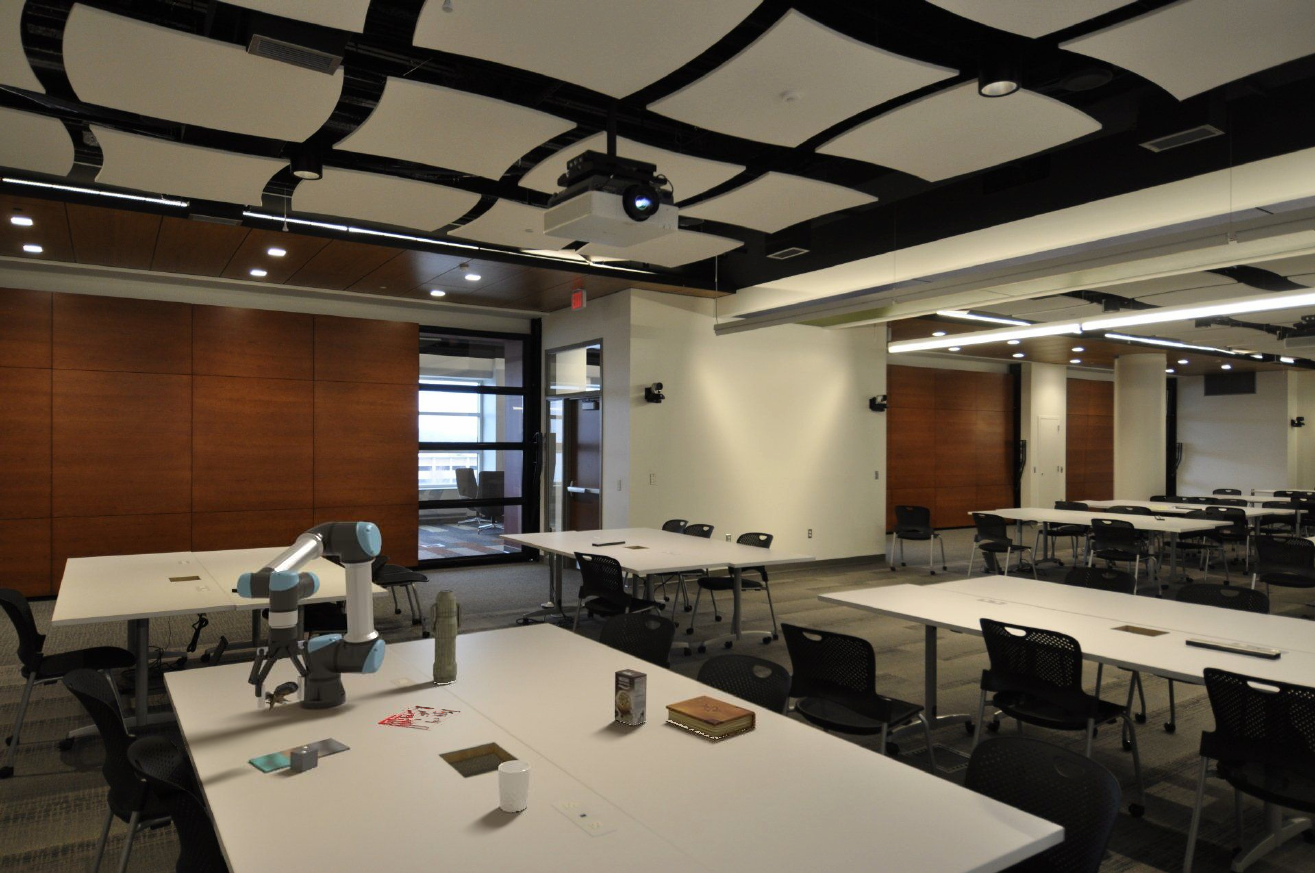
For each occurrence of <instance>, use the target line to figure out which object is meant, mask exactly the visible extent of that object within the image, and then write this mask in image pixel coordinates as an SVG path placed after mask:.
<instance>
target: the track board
mask: <svg viewBox="0 0 1315 873" xmlns="http://www.w3.org/2000/svg"><path fill="white" fill-rule="evenodd" d="M304 746H309V747H313V748H317V749H318V759H320V757H321V758H324V757H327V756H331V755H335V754H338V753H341V752H345V750H346V751H349V750H351V747H349V746H348V745H346V744H344V743H341V742H340V741H337V740H336V739H334V738H332V737H330V738H326V739H322V740H319V741H314V742H311V743H308V744H304V745H300V746H296V747H292V748H288V749H285V750H281V751H277V752H273V753H269V754H266V755H261V756H258V757H255V758H250V759H248V763H250V762H251V764H252V763H253V764H254V766H255V767H257V768H258V769H260V770H261V769H262V770H261V771H263V770H264V771H265V772H264V771H263V772H264V773H266V772H268V773H271V772H274V771H273V770H275V771H278V770H281V769H280V768H282V769H285V768H288V767H287V766H289V767H290V752H291V751H293V750H296V749H298V748H301V747H304ZM253 764H252V765H253ZM284 767H285V768H284ZM277 769H278V770H277ZM270 771H271V772H270Z"/></svg>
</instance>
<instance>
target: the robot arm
mask: <svg viewBox="0 0 1315 873" xmlns="http://www.w3.org/2000/svg"><path fill="white" fill-rule="evenodd" d="M381 546H382V536H381V533H380V530H379V528H378V526H377V525H376V524H375V523H373V522H367V521H365V522H364V521H327V522H324V523H321V524H318V525H316V526H314V527H312V528H309V529H308V530H306V531H304V532H303V533H302V534H300V535H299V536H298V537H297V539H296V540H295V542H294V544H292V545H291V546H290V547H288V548H287V549H285V551H283V552H282V553H280V554H279V555H277V556H276V557H275V558H274V559H272V560H271V561H270V562H268V563H267V564H266V565H265V566H263V567H261V569H260V568H259V570H257V571H256V572H244V573H242V574H241V575H240V576H239V578H238V579H237V582H236V589H237V590H236V591H237V594H238V595H239V597H241V598H244V599H251V600H254V599H262V600H263V599H264V600H265V599H269V600H268V606H269V607H268V626H269V628H268V632H267V637H268V638H267V639H268V644H267V645H266V646H264V647H259V646H258V647H256V649H255V659H254V661H253V665H252V667H251V671H250V674H249V676H248V680H247V683H248V684H250V685H252V686H254V696H255V697H256V698H257V708H258V709H260V710H265V708H266V700H265V692H266V685H265V684H264V682H265V680H266V678H267V677H268V675H269V674H270V672H271V670H272V668H273V667H274V666H275V664H276V663H277V661H278V660H283V659H290V661H291V662H292V663H293V666H294V667H295V668H296V670H297V672H298V673H299V674H300V675H297V682H296V684H298V689H297V692H296V694H297V696H296V699H297V700H299V706H300V707H301V708H304V709H327V708H333V707H336V706H339V705H341V704H343V703H345V702H346V701H347V693H346V690H345V687H344V684H343V681H342V674H354V675H355V674H356V675H357V674H359V675H365V674H375V673H377V672H378V671H379V670H380V668H381V666H382V664H383V661H384V659H385V655H386V649H387V648H386V642H385V640H383V639H379V638H380V636H379V632H378V631H377V630H376V629H375V628H374V627H375V626H374V608H373V606H374V605H373V604H374V603H373V600H374V599H373V583H372V580H373V579H372V578H373V576H372V563H374V561H375V560H376V556H379V554H380V552H381V549H382V548H381ZM322 556H323V557H324V556H339V562H340V564H341V565H342V566H344V577H345V578H344V579H345V596H346V597H345V598H346V600H345V601H346V602H345V603H346V619H347V620H346V622H347V633H346V634H344V635H343V636H342V634H341V633H331V634H324V635H321V636H316V637H313V638H311V639H310V640H303V639H301V640H300V641H298V625H297V623H298V616H299V615H298V611H299V608H298V606H299V601H301V600H304V599H308V598H310V597H312V596H313V595H315V594H316V593H317V592H319V589H320V586H321V583H320V582H321V581H320V579H319V577H318V575H317V574H316V573H314V572H312V571H302V572H300V573H298V571H300V569H302V568H303V567H304V566H305V565H306V564H308V563H309V562H310V561H313V560H316V559H319V558H320V557H322ZM297 648H298V649H299V651H300V654H301V657H302V660H303V664H304V665H303V664H302V662H301V660H300V658H298V654H296V652H295V651H296V650H297ZM267 652H268V653H269V655H268V656H267V658H266V661H265V662H264V660H265V655H267ZM263 663H264V665H263ZM262 665H263V666H262Z"/></svg>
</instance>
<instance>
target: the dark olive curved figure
mask: <svg viewBox="0 0 1315 873" xmlns="http://www.w3.org/2000/svg"><path fill="white" fill-rule="evenodd" d="M297 689H298V684H297V682H296V681H286V682H283V683H282V684H280V685H278V686H276V687H275V689H274V690H273V693H271V692H270V691H268V690H267V691H265V704H268V705H269V710H268V711H271V710H272V709H273V708H275V704H276V703H277V704H279V705H281V706H283V707H285V708H286V707H287V703H288V702H290V703H291V702H292V700H288V699H286V698H285V697H286V696H289V695H291V694H295V693H297ZM266 700H267V702H266Z"/></svg>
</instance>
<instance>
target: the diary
mask: <svg viewBox="0 0 1315 873" xmlns="http://www.w3.org/2000/svg"><path fill="white" fill-rule="evenodd" d="M665 709H666V710H668V712H667V713H668V714H667V715H668V716H667V717H668V720H672V721H673V722H676V723H678V724H682V725H683V726H687V727H688V729H694V730H693V731H700V732H701V733H704V735H709V737H714V739H716V738H715V737H718V738H719V737H723V736H726V735H729V736H731V735H730V734H732V733H735V734H737V733H736V732H739V731H742V730H744V729H748V730H750V729H749V728H751V727H754V726H755V727H756V726H757V725H756V722H757V718H756V717H757V716H756V712H755V711H753V710H750V709H747V708H744V707H740V706H738V705H735V704H732V703H729V702H726V701H723V700H719V699H717V698H713V697H711V696H707V695H704V694H703V695H701V696H697V697H694V698H693V697H692V698H690V699H685V700H682V701H678V702H674V703H672V704H667V705H665ZM755 727H754V728H755ZM751 729H752V728H751ZM700 732H699V733H700ZM742 732H743V731H742ZM739 733H740V732H739ZM732 735H733V734H732ZM726 737H727V736H726ZM723 738H724V737H723Z"/></svg>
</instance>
